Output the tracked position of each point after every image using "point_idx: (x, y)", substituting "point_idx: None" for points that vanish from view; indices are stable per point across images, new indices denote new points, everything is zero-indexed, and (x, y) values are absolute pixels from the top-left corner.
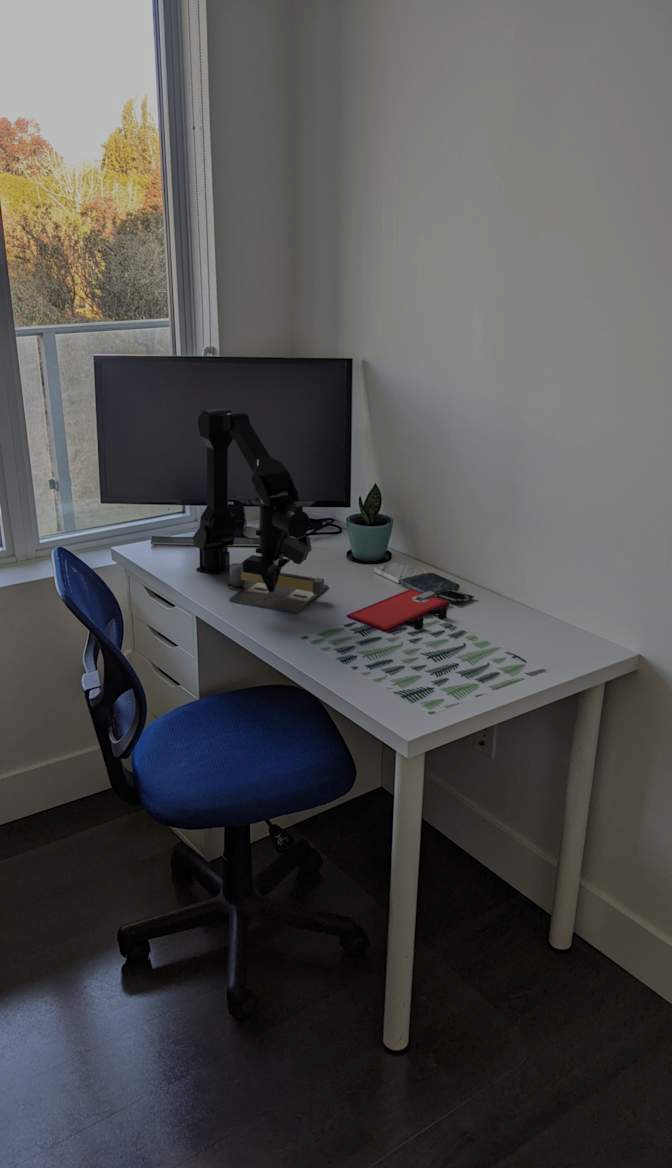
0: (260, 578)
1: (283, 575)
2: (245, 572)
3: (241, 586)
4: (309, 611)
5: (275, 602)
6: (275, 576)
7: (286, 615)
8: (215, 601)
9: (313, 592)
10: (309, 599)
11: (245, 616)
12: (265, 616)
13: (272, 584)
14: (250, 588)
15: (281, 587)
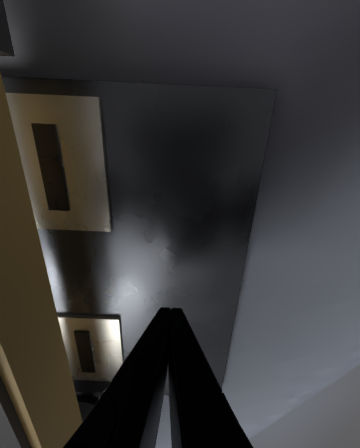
0: (61, 407)
1: None
2: None
3: (87, 398)
4: (206, 33)
5: (190, 257)
6: (205, 433)
7: (305, 153)
8: (234, 411)
9: (4, 43)
10: (55, 95)
11: (348, 307)
12: (336, 242)
13: (204, 357)
14: (101, 378)
15: None
